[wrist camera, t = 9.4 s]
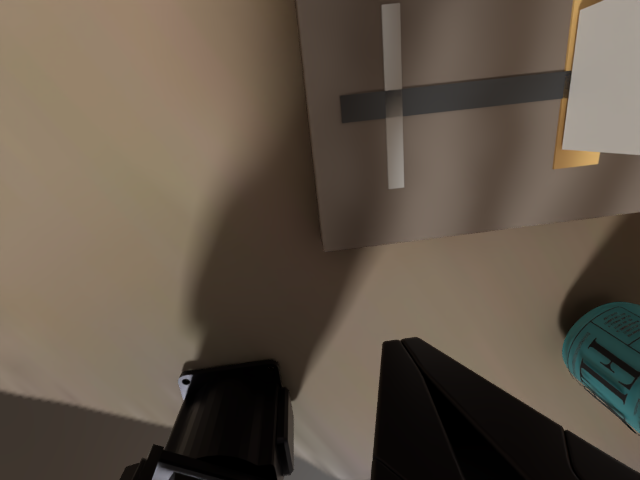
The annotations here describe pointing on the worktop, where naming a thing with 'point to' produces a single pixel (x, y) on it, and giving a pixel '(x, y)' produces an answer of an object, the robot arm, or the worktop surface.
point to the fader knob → (605, 80)
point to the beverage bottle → (608, 357)
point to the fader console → (448, 120)
